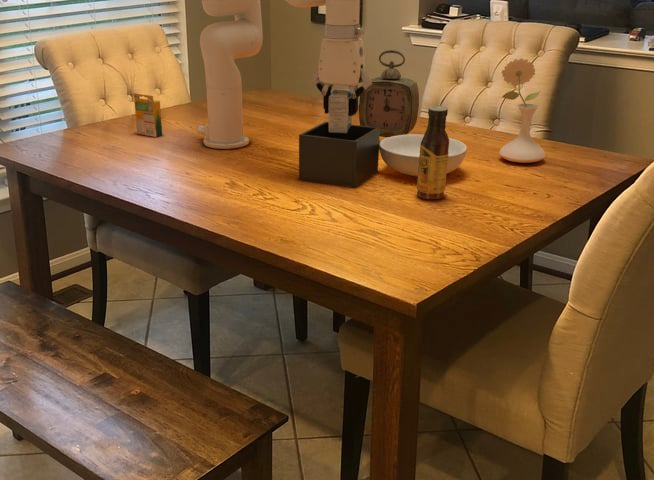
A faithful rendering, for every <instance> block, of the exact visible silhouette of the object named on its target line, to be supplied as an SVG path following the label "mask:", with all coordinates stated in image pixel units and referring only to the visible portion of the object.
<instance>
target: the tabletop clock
mask: <svg viewBox="0 0 654 480" xmlns="http://www.w3.org/2000/svg"><path fill="white" fill-rule="evenodd" d="M386 54H396V55H398V56H400V57H402V62H401V63H398V64H395V62H394V61H393V60H391V61H390V62H389V63H385V62H383V61H382V59H381V58H382V57H383V55H386ZM378 61H379V63H380V64H381V65H382V66H383V67H387V68H385V69H384V70H383V71H382V73H381V75H380V76H377V77H374V78H372V79H371V78H370V80H371V81H372V85H371V86H370V87H369V88H367V89H366V90H365V91H364V92H363V93H362V94H361V95H360V96H359V100H358V121H359V125H360V126H369V127H379V128H380V137H381V138H389V137H392V136H398V135H408V134H410V132H412V131H413V130H414V129H415V126H416V125H417V121H418V115H419V108H420V92H419V91H420V90H419V86H418V83H417V81H415V80H413V79H410V78H406V77H402V74H401V73H400V70H398V69H397V68H398V67H402V65H404V64H405V62H406V57H405V55H404V54H403V53H402V52H401V51H399V50H395V49H394V50H393V49H389V50H384V51H382V52H381V53H380V54H379V56H378Z"/></svg>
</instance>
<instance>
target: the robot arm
mask: <svg viewBox="0 0 654 480" xmlns="http://www.w3.org/2000/svg"><path fill="white" fill-rule="evenodd" d="M284 1H285V2H286V3H287V4H289V5H290V6H292V7H294V8H296V9H306V8H313V7H325V24H324V25H325V26H324V27H325V30H324V31H325V33H324V36H325V37H324V38H322V41H321V46H320V50H319V51H320V52H319V60H318V69H317V70H316V71H315V72H314V73H313V74H312V76H311V77H310V82H312V83H313V84H314V86H315V87H316V89H318V91H320V93H321V94H320V95H321V96H322V97H323V102H322V103H323V104H322V107H323V108H322V109H323V110H324V114H327V115H329V96H330V95H331V94H332V90H333V86H334V85H335V86H336V85H337V86H346V87H348V89H349V91H350V94H351V98H350V99H349V114H348V115H349V116H352V117H353V116H355V115H356V114H357V112H359V98H360V95H361V94H362V93H363V92H364V91H365V90H366V89H367V88H369V87H370V86H371V85H372V81H371V78H370V77H369V75H368V74H367V73H366V57H365V56H366V55H365V48H364V41H363V39H362V38H360V36H362V35H365V33H366V31H365V28H364V27H361V24H360V10H361V8H360V5H361V0H284ZM261 5H262V4H261V0H201V6H202V8H203V11H204V12H205V14H207V15H208V16H210V17H214V18H215V17H217V18H220V17H221V18H222V17H230V16H234V20H228V21H219V22H214V23H211V24H209V25H207V26H206V27H204V29H203V30H202V31H201V33H200V36H199V46H200V50H201V55H202V60H203V65H204V72H205V73H204V74H205V87H206V88H205V89H206V107H207V125H204V124H199V125H198V128H197V134H199V135H205V137H204V139H203V145H204V146H206V147H208V148H211V149H219V150H230V149H231V150H232V149H239V148H243V147H246V146H247V145H249V144H250V138H249V137H248V136H246V135H245V134H244V113H243V112H244V111H243V83H242V82H243V81H242V74H241V71H240V70H239V68H238V66H237V64H236V63H235V62H236V61H235V60H237V59H239V60H240V59H244V58H250V57H254V56H256V55H257V54H259V52H260V51H261V50H262V46H263V42H264V41H263V40H264V33H263V20H262V7H261ZM361 83H362V85H360V86H359V84H361Z"/></svg>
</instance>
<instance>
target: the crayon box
mask: <svg viewBox="0 0 654 480" xmlns="http://www.w3.org/2000/svg"><path fill="white" fill-rule="evenodd" d="M140 97H142V98H140ZM143 97H144V98H143ZM133 99H134V101H133V102H134V111H135V113H134V114H135V124H136V134H137V135H143V136H147V137H154V138H158V137H161V136H163V125H162V113H161V112H162V111H161V101H160V100H154V96H153V95H151V94H150V95H148V94H142V93H133Z"/></svg>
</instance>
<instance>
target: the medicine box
mask: <svg viewBox="0 0 654 480" xmlns="http://www.w3.org/2000/svg"><path fill="white" fill-rule="evenodd" d="M350 98H351V94H350V91H349V88H336V89H333V91H331V95H330V96H329V113H328V122H329V132H330V133H347V132H348V130H349V128H350V127H351V125H352V119H353V116H349V115H348V114H349V99H350Z"/></svg>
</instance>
